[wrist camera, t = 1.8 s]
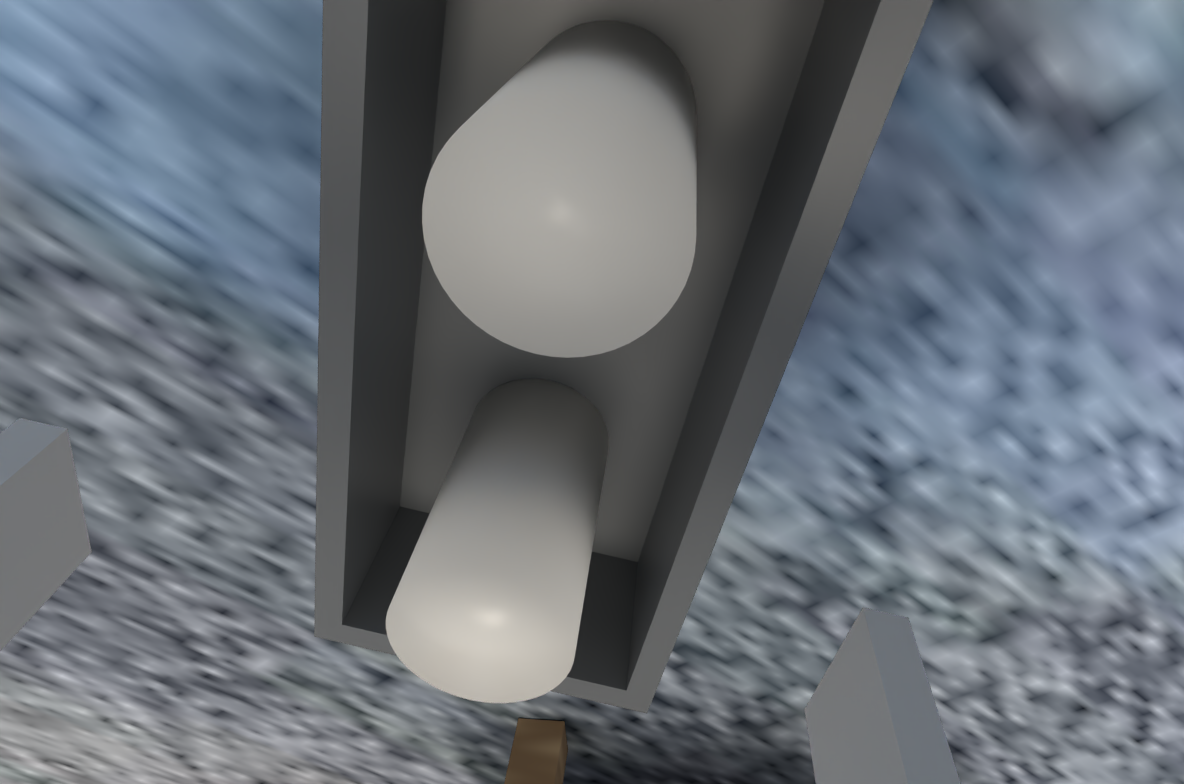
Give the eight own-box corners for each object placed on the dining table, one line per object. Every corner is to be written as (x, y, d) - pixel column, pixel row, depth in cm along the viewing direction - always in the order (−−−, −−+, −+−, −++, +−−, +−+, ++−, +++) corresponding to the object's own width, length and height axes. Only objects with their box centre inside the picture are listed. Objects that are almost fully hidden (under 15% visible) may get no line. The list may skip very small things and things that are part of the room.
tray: (435, -174, 17) (235, -229, 10) (878, -65, 17) (1014, -38, 10) (383, 503, 28) (270, 721, 21) (656, 567, 28) (640, 806, 21)
